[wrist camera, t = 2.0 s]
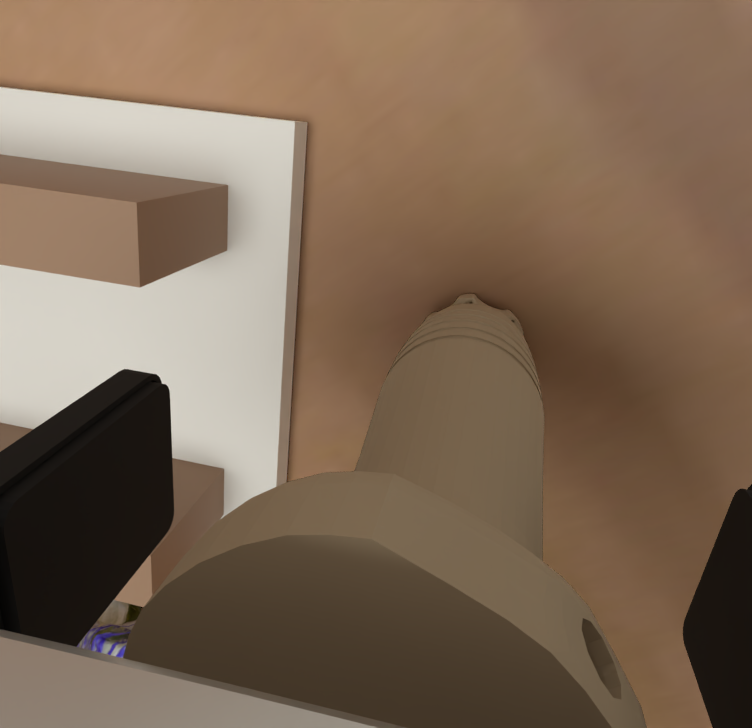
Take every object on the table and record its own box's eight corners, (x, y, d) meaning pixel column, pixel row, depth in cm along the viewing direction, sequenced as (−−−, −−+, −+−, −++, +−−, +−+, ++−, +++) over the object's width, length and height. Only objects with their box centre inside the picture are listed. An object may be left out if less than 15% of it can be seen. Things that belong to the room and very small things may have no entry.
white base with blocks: (282, 549, 25) (214, 674, 19) (-25, 480, 27) (-169, 574, 21) (307, 122, 19) (219, 118, 13) (-91, 76, 21) (-317, 55, 15)
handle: (463, 448, 22) (383, 1012, 8) (357, 297, 20) (42, 646, 7) (591, 382, 20) (779, 958, 6) (483, 213, 19) (411, 448, 5)
